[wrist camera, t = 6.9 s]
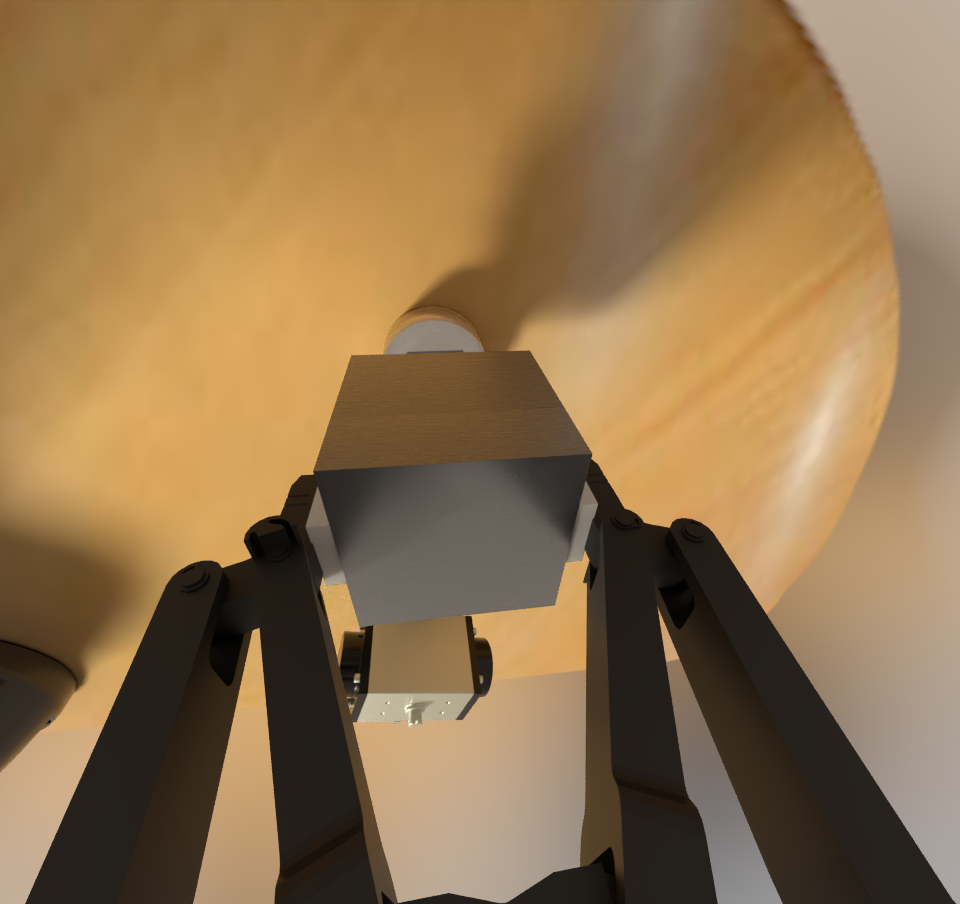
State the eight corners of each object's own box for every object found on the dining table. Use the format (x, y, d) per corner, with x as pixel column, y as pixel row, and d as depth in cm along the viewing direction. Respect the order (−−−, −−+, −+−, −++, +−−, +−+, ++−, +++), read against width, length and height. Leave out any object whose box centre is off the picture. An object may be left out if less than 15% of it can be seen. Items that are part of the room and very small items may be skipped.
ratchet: (408, 542, 34) (407, 617, 28) (378, 306, 22) (366, 355, 16) (476, 536, 34) (488, 607, 29) (483, 305, 23) (506, 350, 17)
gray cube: (376, 491, 19) (359, 627, 13) (351, 355, 15) (313, 471, 9) (515, 481, 20) (554, 605, 14) (529, 350, 16) (592, 453, 10)
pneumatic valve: (355, 559, 34) (333, 712, 25) (479, 571, 38) (502, 710, 28) (345, 596, 37) (322, 746, 27) (462, 604, 41) (477, 740, 31)
